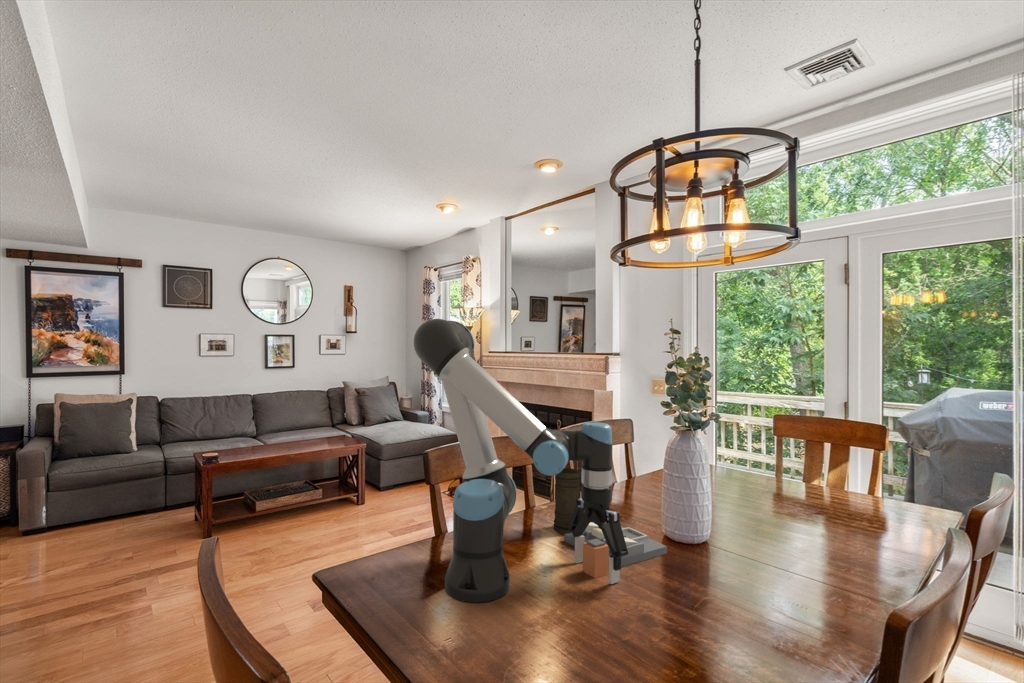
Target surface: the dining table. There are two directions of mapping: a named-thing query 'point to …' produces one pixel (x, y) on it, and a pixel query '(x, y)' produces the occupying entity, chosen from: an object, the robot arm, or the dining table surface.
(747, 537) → the dining table surface
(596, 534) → the plate
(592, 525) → the rocker far
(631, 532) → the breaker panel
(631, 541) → the rocker near
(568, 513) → the container
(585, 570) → the orange block
